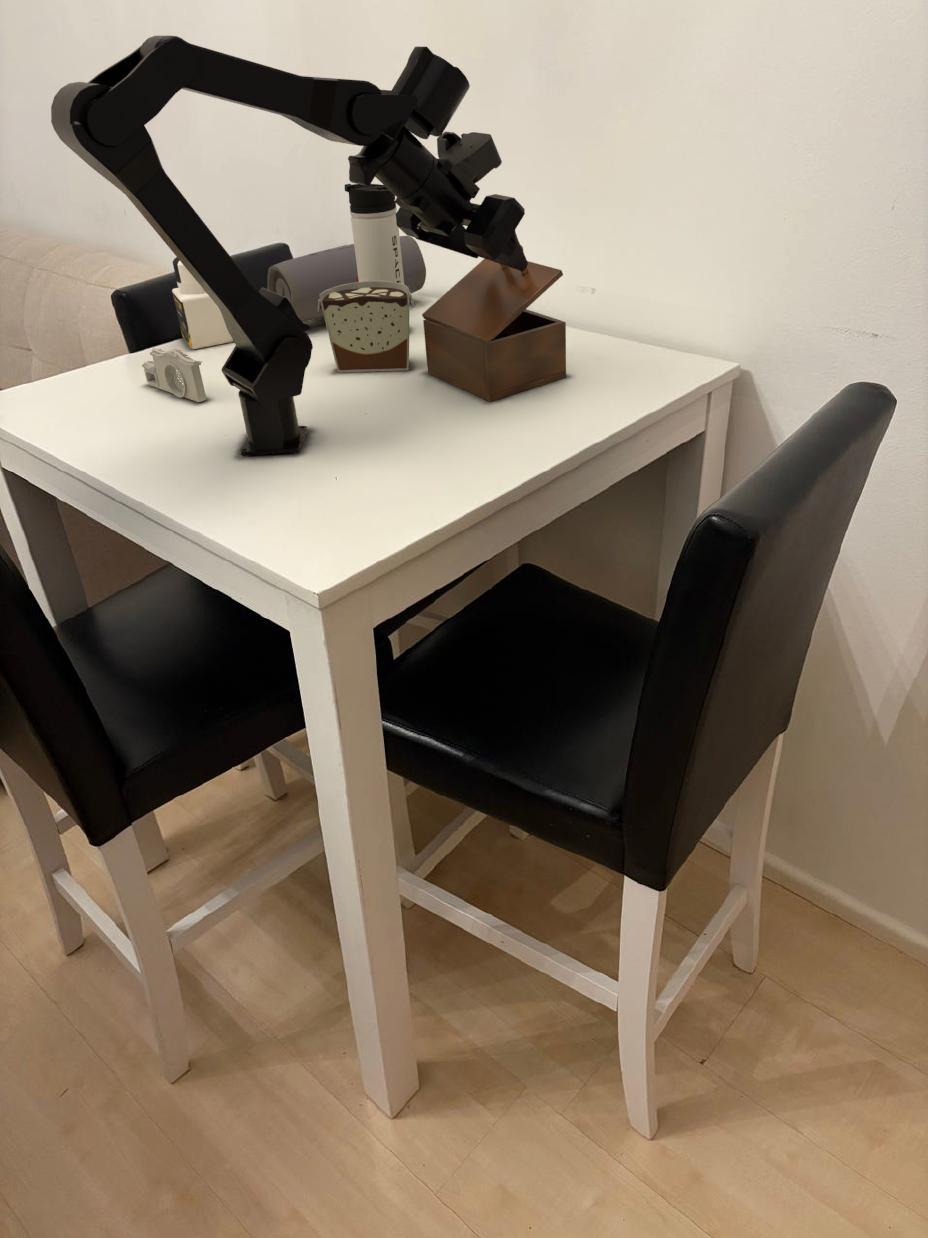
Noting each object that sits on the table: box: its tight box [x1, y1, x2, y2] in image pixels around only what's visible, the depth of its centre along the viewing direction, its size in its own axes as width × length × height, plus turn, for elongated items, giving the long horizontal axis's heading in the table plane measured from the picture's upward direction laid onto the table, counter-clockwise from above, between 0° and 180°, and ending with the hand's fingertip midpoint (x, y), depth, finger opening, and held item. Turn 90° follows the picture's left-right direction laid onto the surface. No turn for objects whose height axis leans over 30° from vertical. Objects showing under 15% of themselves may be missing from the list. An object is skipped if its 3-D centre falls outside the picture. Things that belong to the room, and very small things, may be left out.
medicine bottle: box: [171, 256, 234, 350], centre depth 139 cm, size 7×7×12 cm
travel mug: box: [344, 183, 404, 284], centre depth 133 cm, size 6×7×20 cm
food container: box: [318, 281, 415, 373], centre depth 125 cm, size 12×6×10 cm, turn 84°
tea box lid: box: [421, 245, 564, 343], centre depth 114 cm, size 12×14×4 cm
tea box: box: [422, 308, 567, 402], centre depth 119 cm, size 12×14×7 cm
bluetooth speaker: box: [267, 235, 427, 324], centre depth 145 cm, size 23×9×10 cm, turn 126°
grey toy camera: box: [141, 347, 207, 403], centre depth 122 cm, size 12×2×6 cm, turn 48°
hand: (501, 260), depth 114 cm, fingers open, 9 cm apart
